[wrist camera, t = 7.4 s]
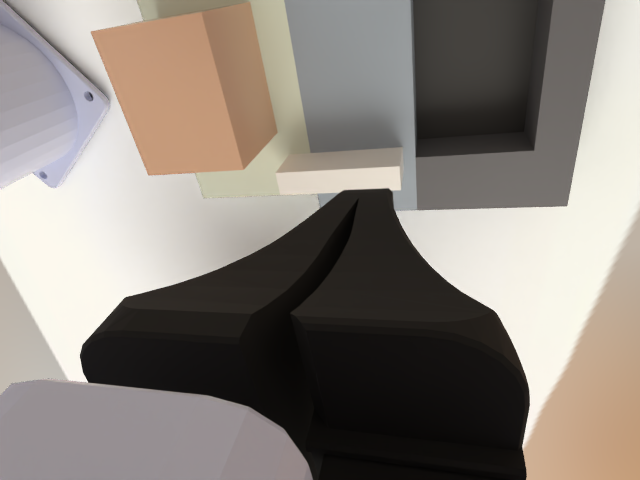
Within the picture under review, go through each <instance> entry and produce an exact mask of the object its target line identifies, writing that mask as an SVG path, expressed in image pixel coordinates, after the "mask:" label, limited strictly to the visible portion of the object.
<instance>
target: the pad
mask: <svg viewBox="0 0 640 480" xmlns="http://www.w3.org/2000/svg"><path fill="white" fill-rule="evenodd" d="M137 2H138V5H139V8H140V11H141V14H142V17H143V20H144V21H146V20H151V19H156V18H161V17H167V16H173V15H178V14H184V13H190V12H195V11H201V10H207V9H212V8H218V7H224V6H229V5H235V4H241V3H246V2H250V4H251V9H252V13H253V18H254V23H255V28H256V32H257V37H258V42H259V47H260V51H261V56H262V61H263V66H264V70H265V75H266V80H267V84H268V89H269V94H270V99H271V103H272V108H273V113H274V118H275V122H276V127H277V132H278V133H277V134H276V135H275V136H274V137H273V138H272V139H271V140H270V142H269V143H268V144H267V145H266V146H265V147H264V148H263V149H262V150H261V151H260V153H259V154H258V155H257V156H256V157H255V158H254V159H253V160H252V161H251V162H250V163H249V165H248V166H247V167H246V168H245V169H244V170H234V171H217V172H199V173H195V174H196V177H197V180H198V183H199V186H200V189H201V192H202V195H203V198H224V197H250V196H276V195H280V192H279V187H278V183H277V178H276V174H275V173H276V171H277V170H278V169H279V167H280V166H281V165H282V163H283V162H284V161H285V159H286V158H287V157H288V155H290V154H305V153H310V147H309V141H308V135H307V130H306V124H305V118H304V112H303V106H302V101H301V95H300V89H299V83H298V77H297V72H296V66H295V60H294V55H293V49H292V43H291V37H290V32H289V26H288V20H287V14H286V8H285V2H284V0H137ZM293 195H302V194H293Z"/></svg>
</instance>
